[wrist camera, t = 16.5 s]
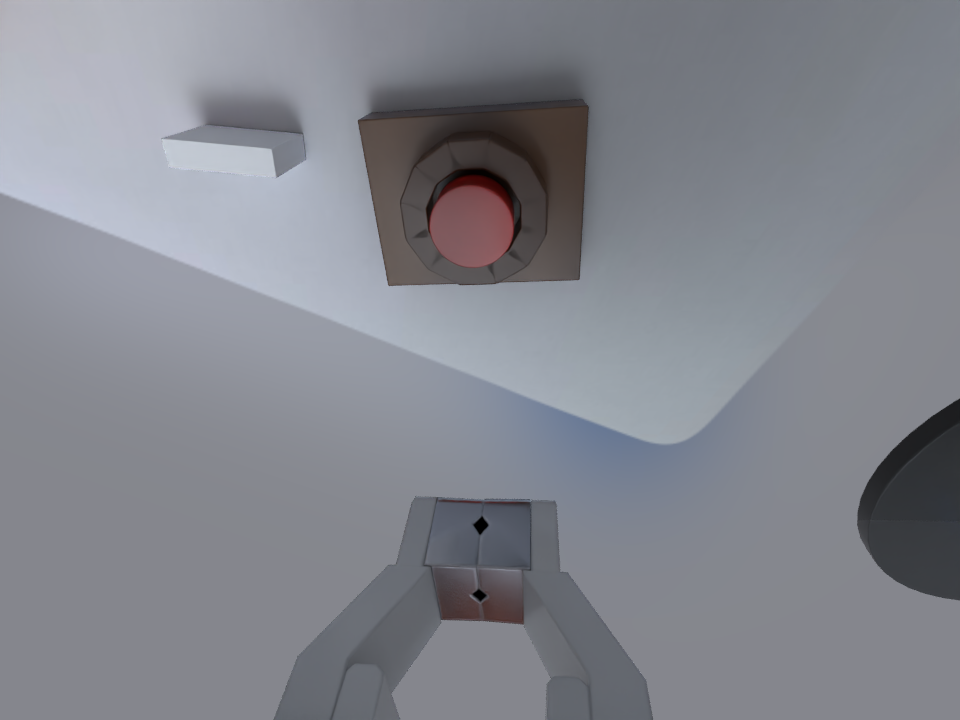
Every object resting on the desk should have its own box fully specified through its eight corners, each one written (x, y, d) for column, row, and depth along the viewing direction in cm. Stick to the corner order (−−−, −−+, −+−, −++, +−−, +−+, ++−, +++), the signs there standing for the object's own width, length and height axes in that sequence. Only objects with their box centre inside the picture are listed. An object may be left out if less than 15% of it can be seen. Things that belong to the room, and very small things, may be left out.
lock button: (513, 171, 21) (512, 182, 19) (515, 251, 23) (515, 267, 21) (430, 176, 21) (423, 187, 20) (439, 254, 23) (434, 269, 22)
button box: (583, 99, 22) (594, 111, 19) (575, 263, 27) (583, 296, 23) (370, 112, 23) (345, 126, 20) (396, 269, 28) (380, 301, 24)
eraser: (205, 124, 24) (160, 138, 21) (303, 133, 24) (272, 148, 21) (211, 151, 25) (168, 168, 22) (306, 159, 25) (276, 178, 22)
